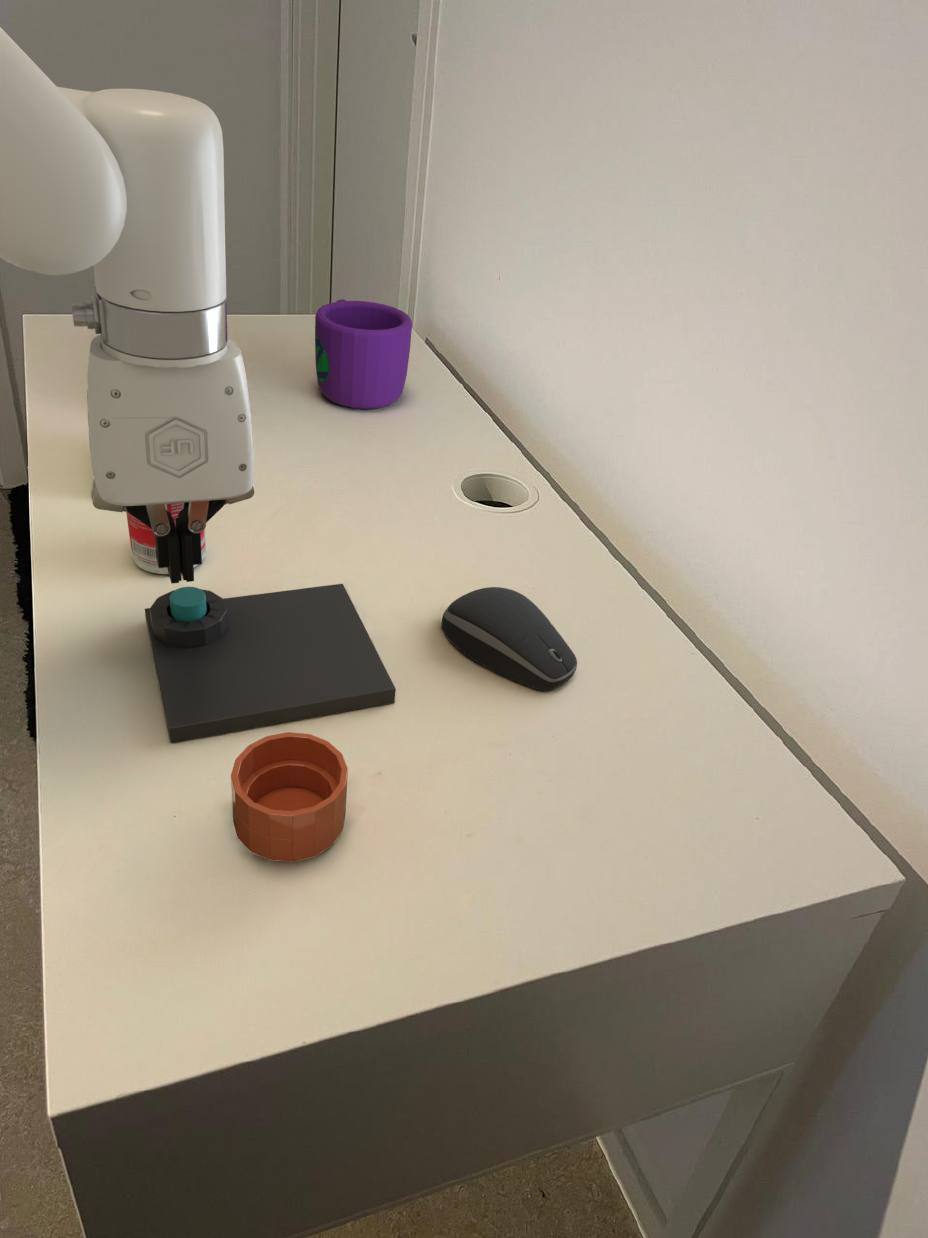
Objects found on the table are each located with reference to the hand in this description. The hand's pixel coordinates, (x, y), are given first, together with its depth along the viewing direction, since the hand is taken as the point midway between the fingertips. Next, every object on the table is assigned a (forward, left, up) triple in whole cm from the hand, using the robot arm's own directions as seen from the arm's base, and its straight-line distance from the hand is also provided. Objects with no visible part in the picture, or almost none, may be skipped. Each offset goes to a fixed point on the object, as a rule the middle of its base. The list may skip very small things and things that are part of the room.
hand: (179, 571), depth 66 cm
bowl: (+3, -20, -7) cm, 21 cm away
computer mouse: (+24, -7, -7) cm, 26 cm away
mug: (+27, +47, -7) cm, 55 cm away
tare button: (0, 0, -4) cm, 4 cm away
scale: (+5, -4, -7) cm, 9 cm away
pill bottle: (0, +12, -7) cm, 14 cm away
